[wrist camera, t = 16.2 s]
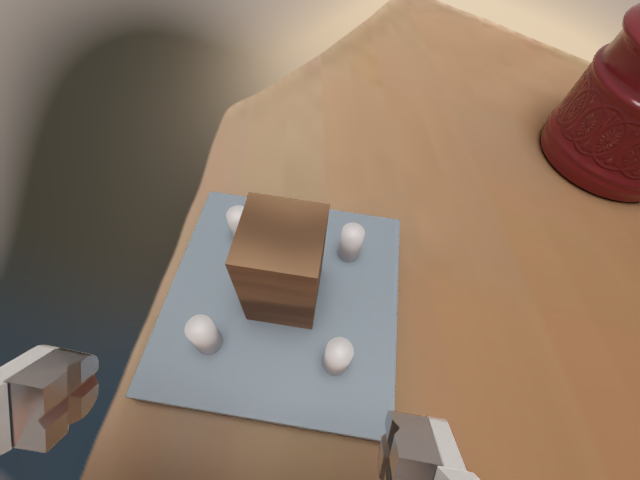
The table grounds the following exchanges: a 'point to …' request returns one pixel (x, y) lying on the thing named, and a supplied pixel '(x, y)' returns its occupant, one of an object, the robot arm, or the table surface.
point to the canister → (602, 121)
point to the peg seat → (281, 334)
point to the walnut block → (278, 259)
